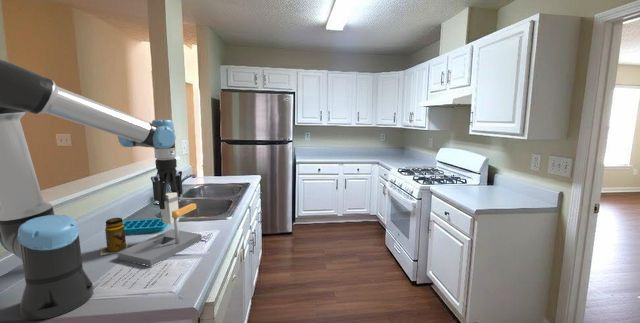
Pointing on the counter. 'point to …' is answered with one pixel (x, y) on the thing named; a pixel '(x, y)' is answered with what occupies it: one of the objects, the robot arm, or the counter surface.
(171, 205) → the white upright block
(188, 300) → the counter surface
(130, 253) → the grey flat slab
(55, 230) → the robot arm
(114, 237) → the condiment
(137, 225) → the ice cube tray
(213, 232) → the counter surface
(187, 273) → the counter surface
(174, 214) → the clip
